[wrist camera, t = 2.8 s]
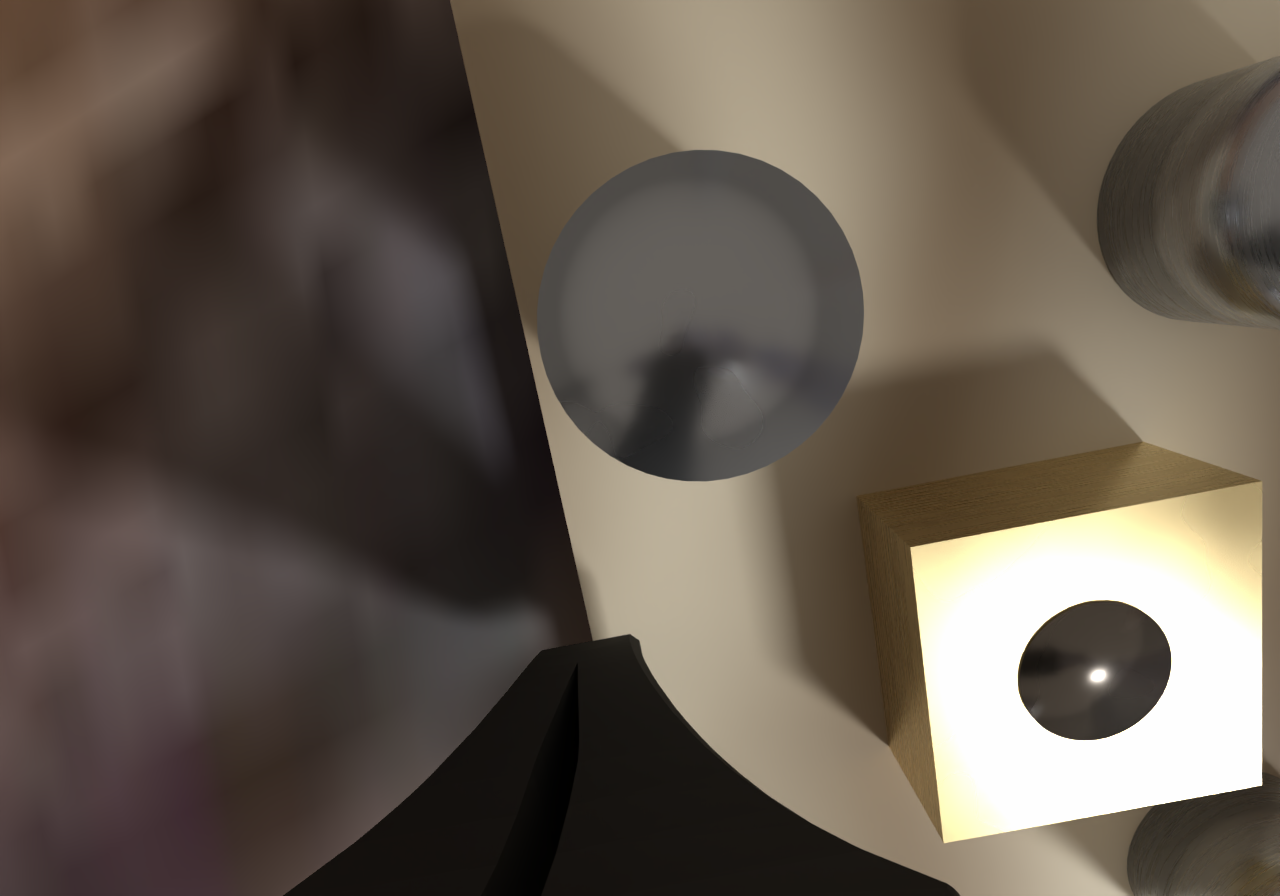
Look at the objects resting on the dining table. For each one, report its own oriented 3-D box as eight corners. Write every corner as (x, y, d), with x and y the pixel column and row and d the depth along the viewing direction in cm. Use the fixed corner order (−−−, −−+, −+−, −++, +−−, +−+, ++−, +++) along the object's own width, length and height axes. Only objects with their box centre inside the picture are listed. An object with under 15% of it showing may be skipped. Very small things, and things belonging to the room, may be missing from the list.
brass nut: (1143, 441, 11) (1264, 482, 9) (1152, 697, 11) (1265, 787, 9) (856, 495, 11) (912, 548, 9) (888, 746, 12) (945, 845, 10)
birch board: (1522, -224, 10) (1643, -288, 9) (1440, 956, 14) (1513, 1018, 13) (459, -10, 10) (439, -47, 9) (701, 1089, 14) (709, 1161, 13)
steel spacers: (1591, 3, 9) (2027, -115, 7) (1495, 1021, 13) (1745, 1236, 10) (537, 210, 10) (503, 185, 7) (737, 1156, 13) (771, 1406, 10)
